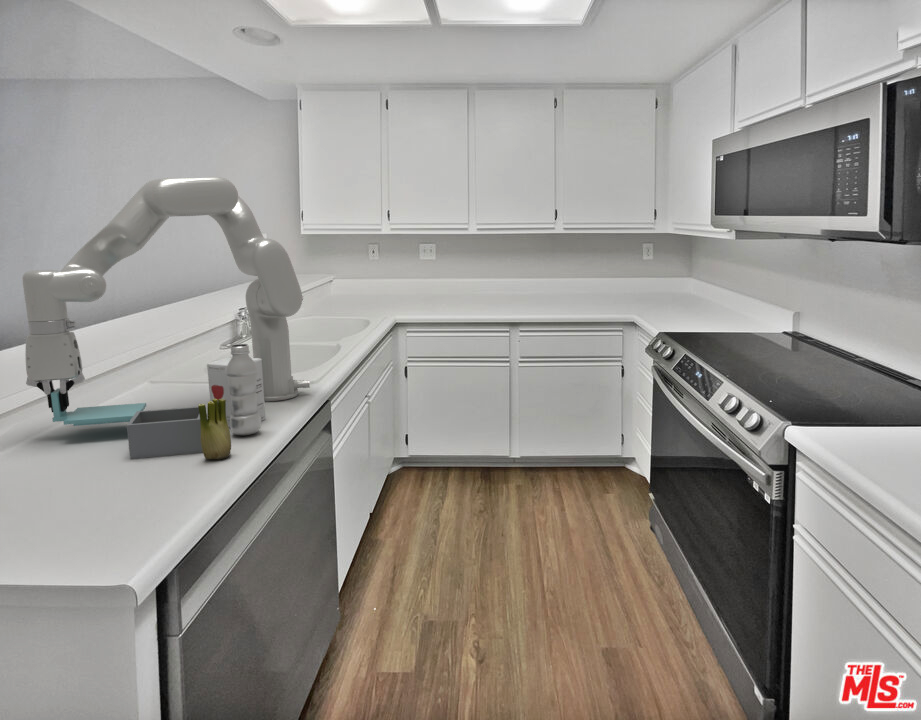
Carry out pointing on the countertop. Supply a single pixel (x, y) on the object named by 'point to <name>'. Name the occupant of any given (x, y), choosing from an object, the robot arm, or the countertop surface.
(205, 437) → the fennel bulb
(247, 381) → the plastic bottle
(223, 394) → the supplement box
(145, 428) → the tub
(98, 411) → the lid
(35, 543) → the countertop surface
